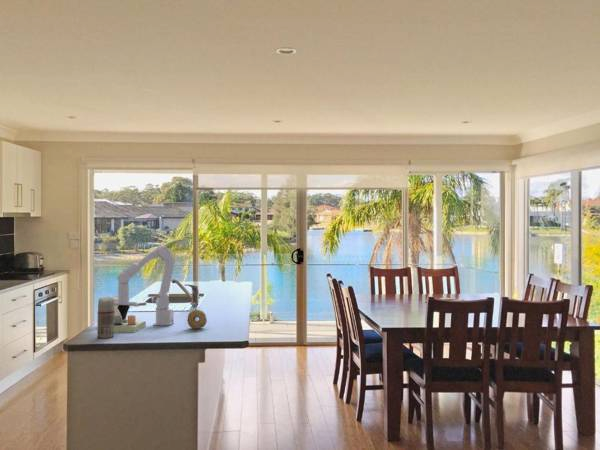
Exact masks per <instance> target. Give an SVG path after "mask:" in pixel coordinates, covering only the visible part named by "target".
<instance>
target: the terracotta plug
mask: <svg viewBox="0 0 600 450" xmlns="http://www.w3.org/2000/svg"><path fill="white" fill-rule="evenodd" d="M136 317H137V316H136V314H131V315H130V314H129V315H127V318H128V325H135V324H136V321H137V320H136V319H137V318H136Z"/></svg>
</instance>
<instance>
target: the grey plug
mask: <svg viewBox="0 0 600 450" xmlns="http://www.w3.org/2000/svg"><path fill="white" fill-rule="evenodd" d="M114 325H122V316H114Z"/></svg>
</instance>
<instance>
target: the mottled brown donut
mask: <svg viewBox="0 0 600 450" xmlns="http://www.w3.org/2000/svg"><path fill="white" fill-rule="evenodd" d="M196 318H198V320H196ZM207 322H208V319H207V314H206V313H205V312H204V311H202V310H200V309H194V310H192V311H190V312H188V315H187V325H188V327H190V328H192V329H196V330H197V329H202V328H204V327H205V326H206V324H207Z"/></svg>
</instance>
